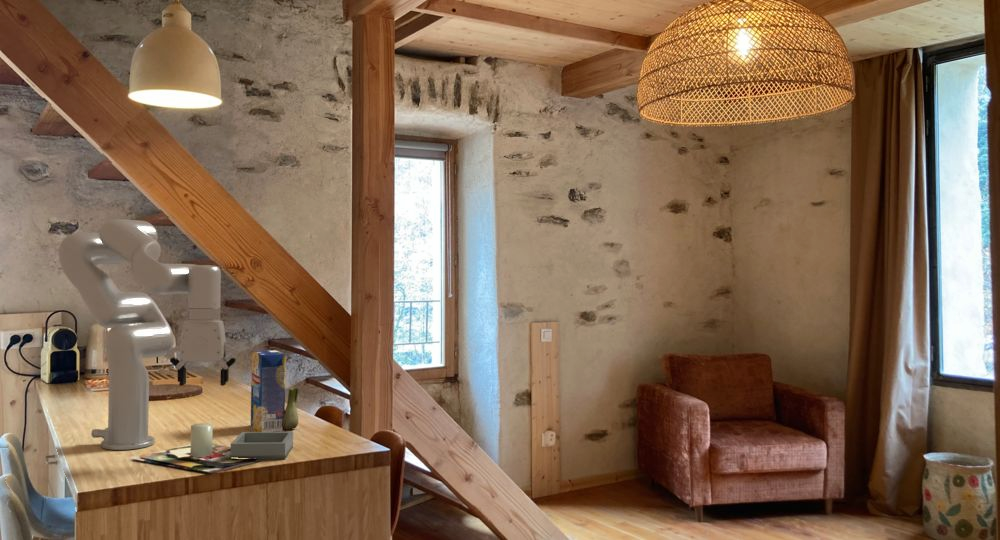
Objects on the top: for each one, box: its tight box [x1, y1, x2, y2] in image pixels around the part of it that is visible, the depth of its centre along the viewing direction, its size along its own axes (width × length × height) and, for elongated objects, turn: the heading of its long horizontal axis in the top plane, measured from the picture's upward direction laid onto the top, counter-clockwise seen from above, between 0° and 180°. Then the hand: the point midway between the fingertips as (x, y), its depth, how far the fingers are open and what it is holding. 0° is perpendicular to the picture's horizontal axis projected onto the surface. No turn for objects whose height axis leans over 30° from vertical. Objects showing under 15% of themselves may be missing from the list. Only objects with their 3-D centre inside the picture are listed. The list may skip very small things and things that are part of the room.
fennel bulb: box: [282, 387, 300, 430], centre depth 226 cm, size 6×5×12 cm
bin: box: [230, 431, 294, 461], centre depth 198 cm, size 13×13×4 cm
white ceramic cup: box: [189, 422, 214, 457], centre depth 192 cm, size 5×5×8 cm
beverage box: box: [250, 349, 286, 432], centre depth 227 cm, size 7×11×22 cm, turn 32°
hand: (203, 384), depth 192 cm, fingers open, 9 cm apart
